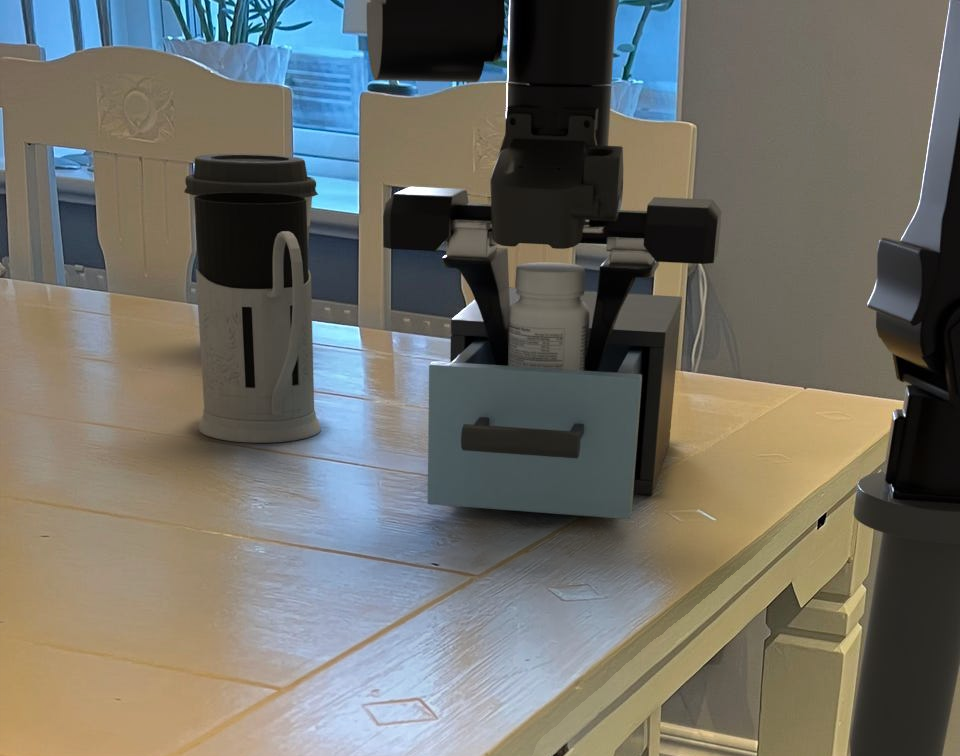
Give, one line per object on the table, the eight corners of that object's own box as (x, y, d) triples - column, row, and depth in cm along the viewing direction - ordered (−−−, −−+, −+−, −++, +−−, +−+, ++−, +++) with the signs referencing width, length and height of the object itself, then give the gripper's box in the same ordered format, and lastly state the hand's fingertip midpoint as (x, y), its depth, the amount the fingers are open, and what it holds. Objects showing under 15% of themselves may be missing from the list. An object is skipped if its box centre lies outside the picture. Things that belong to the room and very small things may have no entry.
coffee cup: (290, 363, 136) (284, 166, 128) (170, 352, 139) (157, 159, 131) (341, 341, 145) (338, 157, 137) (227, 331, 148) (218, 150, 140)
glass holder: (298, 411, 120) (292, 190, 112) (365, 455, 109) (362, 213, 101) (184, 419, 116) (169, 191, 109) (241, 465, 105) (228, 215, 98)
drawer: (621, 541, 89) (632, 394, 85) (410, 525, 91) (411, 380, 87) (649, 465, 105) (659, 337, 100) (468, 452, 106) (471, 326, 102)
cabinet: (652, 495, 102) (665, 332, 97) (448, 480, 103) (450, 319, 98) (669, 443, 114) (682, 296, 109) (486, 431, 116) (491, 285, 111)
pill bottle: (548, 406, 99) (554, 258, 94) (600, 420, 96) (610, 268, 91) (489, 415, 96) (493, 264, 92) (541, 430, 93) (548, 274, 89)
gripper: (357, 84, 81) (362, 402, 89) (724, 96, 79) (694, 422, 87) (404, 77, 91) (404, 365, 99) (733, 88, 88) (706, 383, 96)
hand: (546, 383), depth 95 cm, fingers closed on pill bottle, 5 cm apart
